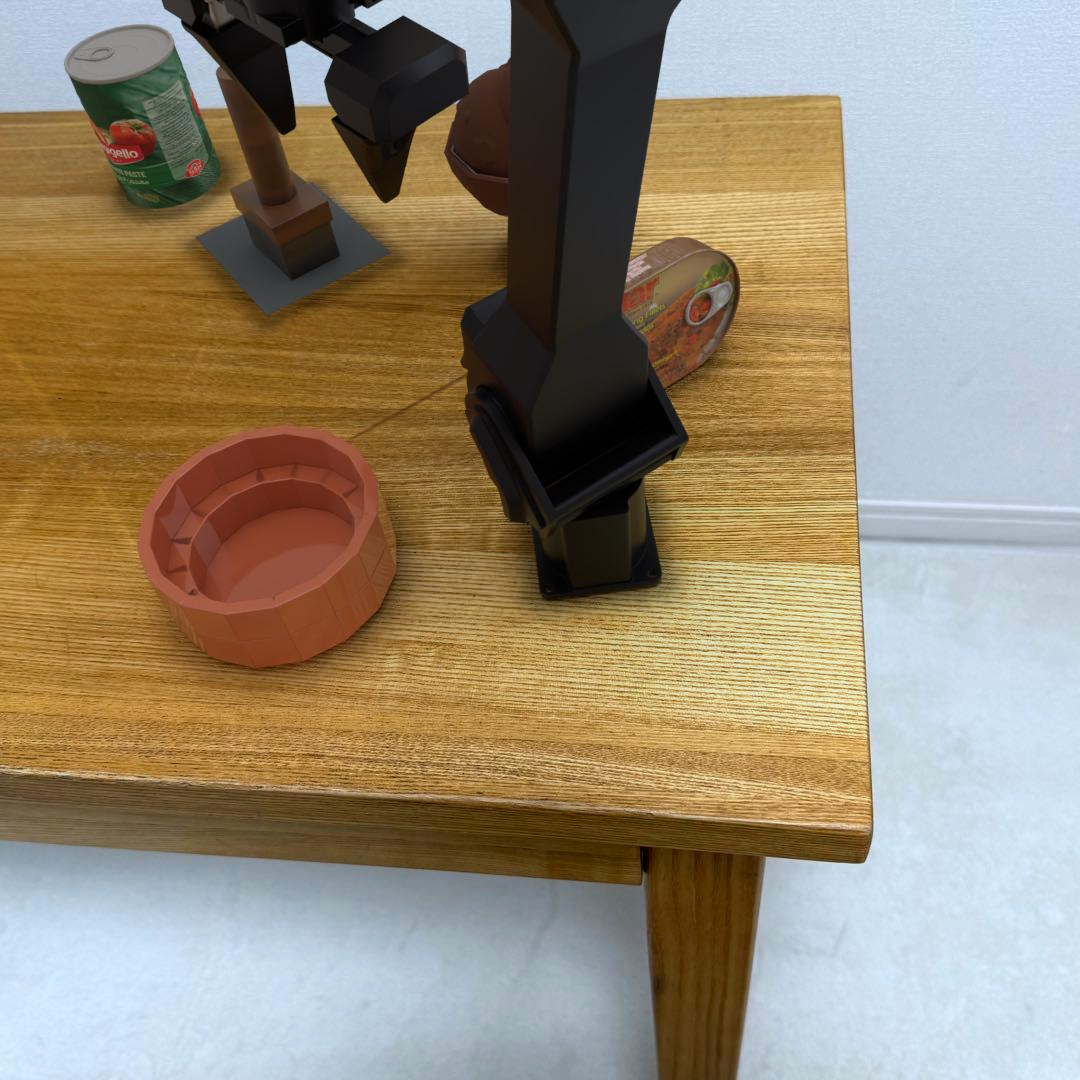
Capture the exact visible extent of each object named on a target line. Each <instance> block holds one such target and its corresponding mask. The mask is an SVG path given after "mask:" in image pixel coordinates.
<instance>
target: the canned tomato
mask: <svg viewBox="0 0 1080 1080" xmlns="http://www.w3.org/2000/svg"><path fill="white" fill-rule="evenodd" d="M63 61H64V62H63V67H64V71H65V73H66V74H67V75H68V77H69V79H70V81H71V84H72V86H73V88H74V90H75V93H76V95H77V97H78V98H79V101H80V104H81V106H82V108H83V110H84V112H85V115H86V116H87V118H88V120H89V124H90V125H91V127H92V129H93V131H94V134H95V136H96V137H97V139H98V142H99V145H100V146H101V149H102V150H103V153H104V155H105V157H106V159H107V162H108V164H109V165H110V167H111V170H112V172H113V174H114V176H115V178H116V181H117V184H118V185H119V187H120V189H121V191H122V193H123V195H124V197H125V199H126V200H127V201H128V202H129V203H130V204H132V205H133V206H135V207H138V208H143V209H148V210H149V209H150V210H151V209H154V210H160V209H168V208H174V207H178V206H182V205H185V204H187V203H190V202H191V201H194V200H196V199H198V198H200V197H201V196H203V195H205V194H206V193H207V192H209V191H210V190H211V189H212V188H213V187H214V186H215V185H216V184H217V182H218V180H219V179H220V177H221V174H222V166H221V164H220V162H219V159H218V156H217V153H216V150H215V147H214V145H213V141H212V139H211V137H210V133H209V131H208V128H207V127H206V123H205V121H204V118H203V116H202V112H201V110H200V108H199V104H198V101H197V99H196V97H195V94H194V91H193V89H192V87H191V83H190V80H189V79H188V76H187V73H186V70H185V67H184V65H183V62H182V59H181V57H180V54H179V51H178V50H177V47H176V45H175V39H174V37H173V35H172V33H170V31H168V29H166V28H163V27H162V26H158V25H155V24H148V23H134V24H126V25H125V24H124V25H120V26H114V27H111V28H108V29H104V30H101V31H98V32H96V33H93V34H92V35H90V36H87V37H86V38H84V39H83V40H81V41H79V42H78V43H77V44H76V45H74V46H73V47H72V48H71V49H70V50H69V52H67V53H66V56H65V58H64V60H63Z"/></svg>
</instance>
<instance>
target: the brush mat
mask: <svg viewBox="0 0 1080 1080" xmlns="http://www.w3.org/2000/svg"><path fill="white" fill-rule="evenodd" d="M308 184H309V185H310V186H311V187H313V188H314V189H315V190H316V191H317V192H318V193H320V194H321V195H322V196H323V197H324V198H326V199H327V200H328V202H329V206H330V209H331V213H332V216H333V220H332V221H330V222H331V226H332V229H333V233H334V236H335V239H336V243H337V246H338V250H339V253H340V256H339V257H337V258H335V259H333V260H331V261H329V262H327V263H325V264H324V265H322V266H320V267H318V268H316V269H314V270H312V271H310V272H308V273H306V274H304V275H302V276H300V277H298V278H296V279H295V280H291V279H290V278H289V277H288V276H287V275H286V274H285V273H284V272H283V271H282V270H280V269H279V268H278V267H277V266H276V265H275V264H274V263H273V262H272V261H271V260H270V259H269V258H268V257H267V256H266V255H265V254H264V253H263V252H262V251H261V250H260V249H258V248H257V247H256V246H255V245H254V244H253V242H252V239H251V236H250V234H249V231H248V228H247V226H246V223H245V220H244V217H243V215H242V214H241V215H239V216H237V217H235V218H233V219H230V220H229V221H226V222H224V223H222V224H220V225H218V226H216V227H213V228H212V229H209V230H207V231H205V232H203V233H201V234H199V235H197V236H195V239H196V240H197V241H198V242H199V244H201V246H203V247H204V249H205V250H206V251H207V252H208V253H209V254H210V255H211V257H213V259H214V260H215V261H216V262H217V263H218V264H219V265H220V266H221V267H222V268H223V270H224V271H225V272H226V273H227V274H228V275H229V276H230V277H231V278H232V279H233V280H234V282H235V283H236V284H237V285H238V286H239V287H240V288H241V289H242V291H244V293H246V295H247V296H248V297H249V298H250V299H251V300H252V301H253V303H254V304H255V305H256V306H257V307H258V308H259V309H260V310H261V311H262V312H263V313H264V314H265V315H266V316H269V315H271V314H274V313H275V312H277V311H279V310H282V309H283V308H285V307H287V306H289V305H291V304H293V303H295V302H297V301H299V300H301V299H303V298H305V297H308V296H309V295H311V294H313V293H315V292H317V291H320V290H321V289H323V288H326V287H327V286H329V285H331V284H333V283H335V282H337V281H339V280H340V279H343V278H344V277H347V276H349V275H350V274H352V273H354V272H356V271H358V270H361V269H362V268H365V267H366V266H368V265H370V264H373V263H374V262H376V261H378V260H380V259H383V258H384V257H386V256H389V255H390V254H392V252H391V251H390V250H389V249H388V248H387V247H386V246H385V245H383V244H382V243H381V242H380V241H379V240H378V239H377V238H375V237H374V236H373V234H371V233H370V232H369V231H368V230H366V229H365V228H364V227H363V226H362V225H361V224H360V223H358V221H356V220H355V219H354V218H353V217H352V216H351V215H350V214H349V213H348V212H346V211H345V210H344V209H343V208H342V207H341V206H339V205H338V203H336V202H335V201H334V200H333V199H332V198H330V196H328V194H326V193H325V192H324V190H322V189H321V188H319V186H317V185H316V184H315V183H314V182H309V183H308Z"/></svg>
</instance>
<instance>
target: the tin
mask: <svg viewBox="0 0 1080 1080" xmlns="http://www.w3.org/2000/svg"><path fill="white" fill-rule="evenodd" d="M740 297H741V278H740V273H739V269H738V267H737V265H736V263H735V261H734V260H733V259H732V257H730V256H729V255H728V254H727V253H725V252H723V251H721V250H720V249H719V250H718V249H715V248H713V247H711V246H709V245H708V244H706V243H704V242H702V241H700V240H698V239H696V238H692V237H686V236H677V237H676V236H675V237H671V238H668V239H665V240H662V241H661V242H658V243H656V244H655V245H654V246H651V247H650V248H648V249H647V250H645V251H643V252H640V253H639V254H637V255H636V256H634V257H632V258H630V259H629V265H628V272H627V278H626V284H625V290H624V296H623V314H624V315H625V316H626V317H627V318H628V319H629V320H630V321H631V322H632V324H633V325H634V326H635V327H636V328H637V329H638V330H639V331H640V332H641V334H642V335H643V336H644V337H645V338H646V339H647V341H648V344H649V349H648V358H649V360H650V362H651V364H652V366H653V368H654V370H655V372H656V374H657V376H658V378H659V380H660V382H661V384H662V386H663V387H664V389H665V390H666V388H668V387H670V386H671V385H673V384H674V383H676V382H678V381H679V380H682V379H683V378H684V377H686V376H687V375H689V374H691V373H692V372H694V371H695V370H697V369H698V368H699V367H701V366H703V365H702V364H704V363H706V361H707V360H708V359H709V358H710V357H711V356H712V355H713V354H714V353H715V352H716V350H717V349H718V348H719V346H720V345H721V344H722V342H723V341H724V339H725V338H726V336H727V334H728V332H729V330H730V329H731V327H732V325H733V322H734V319H735V317H736V313H737V310H738V306H739V303H740Z"/></svg>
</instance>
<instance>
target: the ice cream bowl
mask: <svg viewBox="0 0 1080 1080" xmlns="http://www.w3.org/2000/svg"><path fill="white" fill-rule="evenodd" d="M455 109H456V110H455V111H456V112H455V115H454V119H453V121H452V122H451V125H450V129H449V132H448V137H447V140H446V142H445V146H444V150H443V153H444V156H445V158H446V161H447V163H448V166H449V168H450V170H451V172H452V174H453V175H454V176H455V177H456V179H457V180H458V181H459V183H460V184H461V185H462V187H463V188H464V189H465V190H466V191H467V192H468V194H470V195H471V196H472V197H473V198H474V199H475V200H476V201H477V202H478V203H479V204H480V205H481V206H482V207H483V208H485V210H487V211H490V212H492V213H495V215H498V216H501V217H507V218H508V178H509V115H510V57H509V58H508V60H507V61H506V63H503V64H501V65H499V67H497V68H492V69H488V70H486V71H484V72H483V73H481V74H480V75H479V76H477V77H476V78H474V79H473V80H472V81H471V82H469V94H468V95H466V96H465V97H463V98H462V99H460V100H459V101H457V102H456V106H455Z"/></svg>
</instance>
